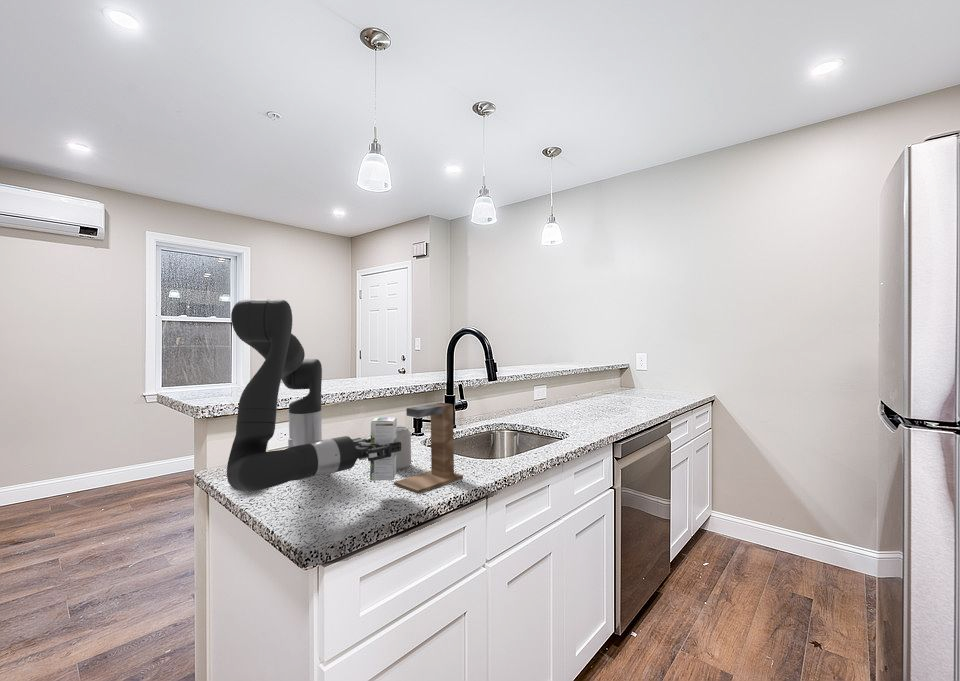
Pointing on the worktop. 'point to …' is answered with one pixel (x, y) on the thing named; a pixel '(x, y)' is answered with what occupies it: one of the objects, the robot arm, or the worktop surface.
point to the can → (403, 448)
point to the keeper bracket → (435, 449)
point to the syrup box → (383, 434)
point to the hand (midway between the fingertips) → (390, 443)
